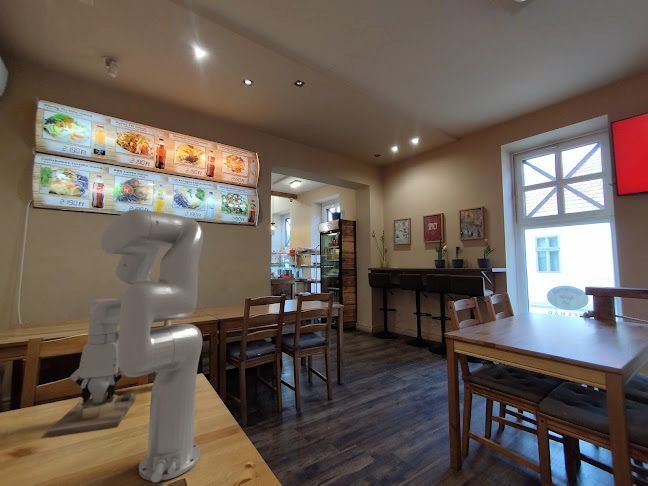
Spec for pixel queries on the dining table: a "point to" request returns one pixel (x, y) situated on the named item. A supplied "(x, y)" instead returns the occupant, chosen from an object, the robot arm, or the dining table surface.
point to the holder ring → (96, 408)
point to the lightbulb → (98, 389)
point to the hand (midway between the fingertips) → (98, 398)
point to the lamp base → (92, 419)
